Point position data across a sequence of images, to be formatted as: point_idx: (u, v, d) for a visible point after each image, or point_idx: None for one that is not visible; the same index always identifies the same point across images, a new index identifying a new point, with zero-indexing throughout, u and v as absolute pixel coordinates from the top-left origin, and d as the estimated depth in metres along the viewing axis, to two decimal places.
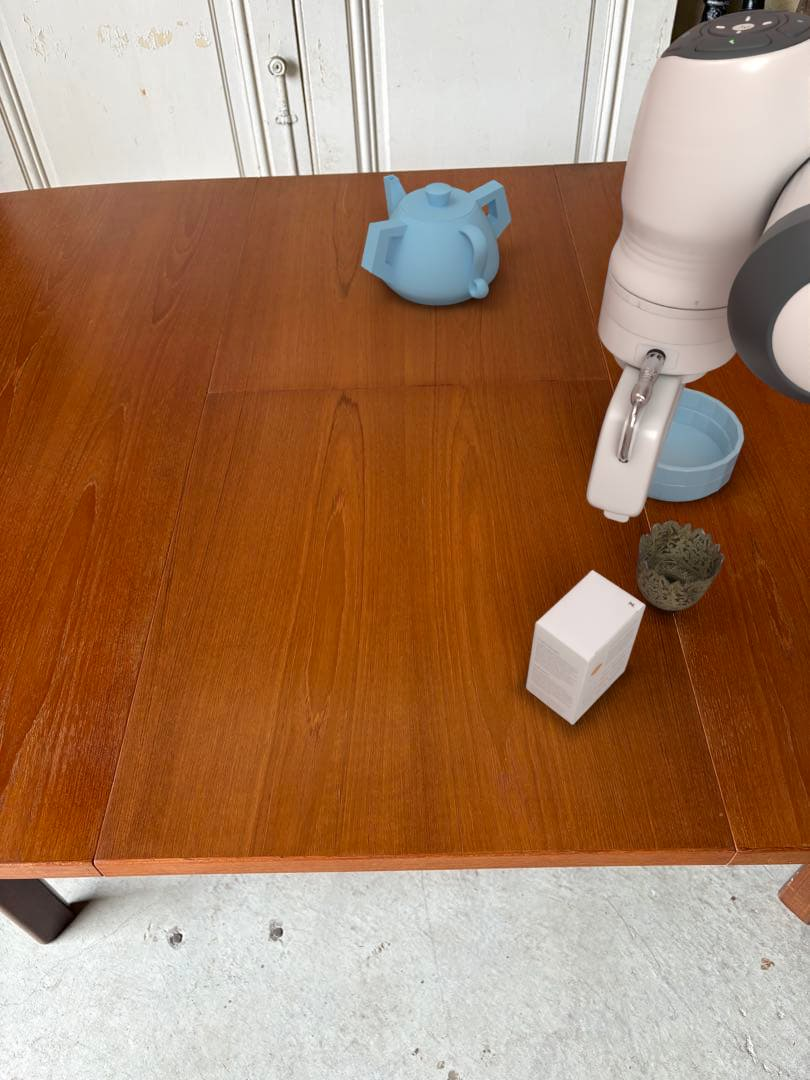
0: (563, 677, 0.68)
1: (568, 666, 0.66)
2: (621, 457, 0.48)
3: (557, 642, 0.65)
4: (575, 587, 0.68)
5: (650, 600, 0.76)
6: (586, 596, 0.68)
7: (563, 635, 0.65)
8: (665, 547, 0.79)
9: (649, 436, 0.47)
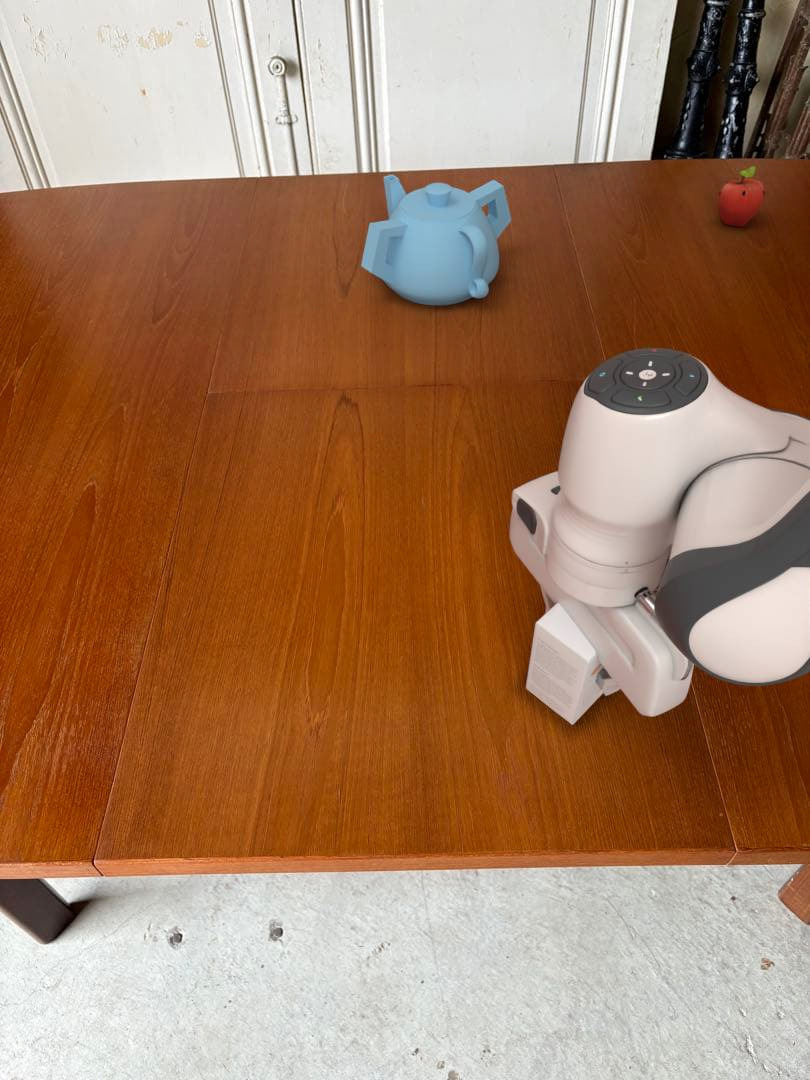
0: (563, 678, 0.68)
1: (568, 666, 0.66)
2: (682, 679, 0.57)
3: (557, 642, 0.65)
4: None
5: None
6: None
7: (563, 635, 0.65)
8: None
9: None
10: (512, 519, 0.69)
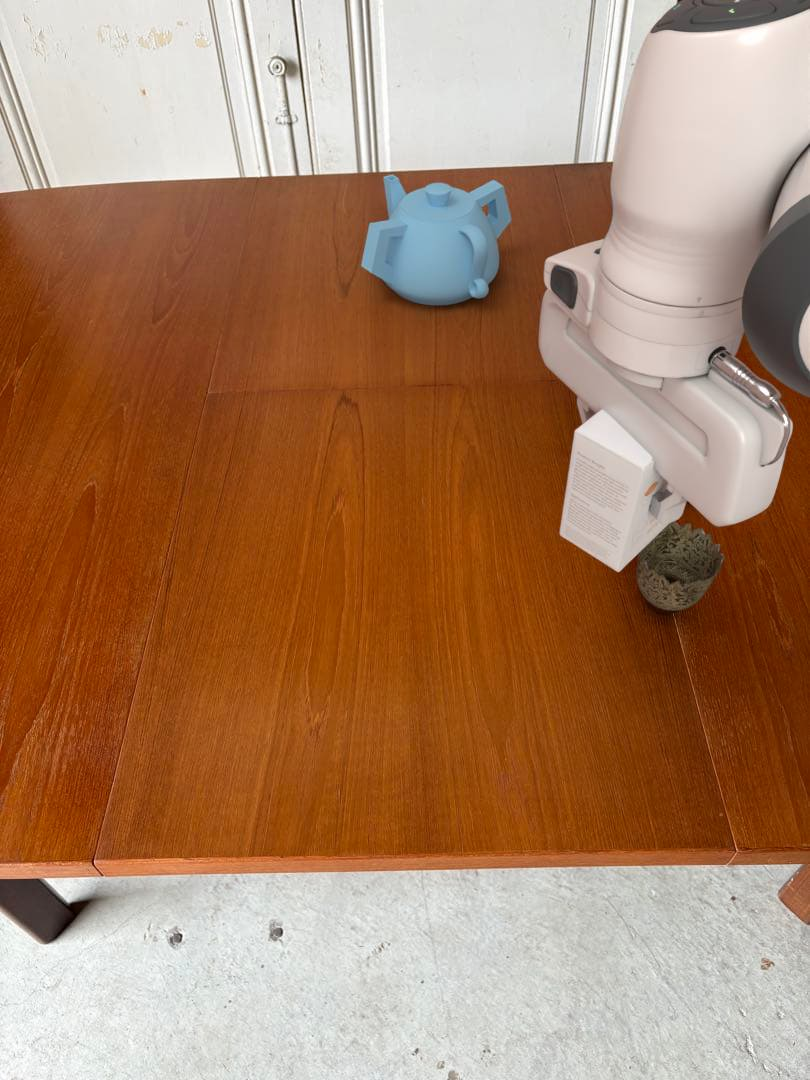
0: (608, 504, 0.55)
1: (616, 484, 0.53)
2: (774, 461, 0.44)
3: (602, 451, 0.52)
4: None
5: (650, 600, 0.76)
6: None
7: (610, 442, 0.52)
8: (665, 547, 0.79)
9: None
10: (543, 312, 0.56)
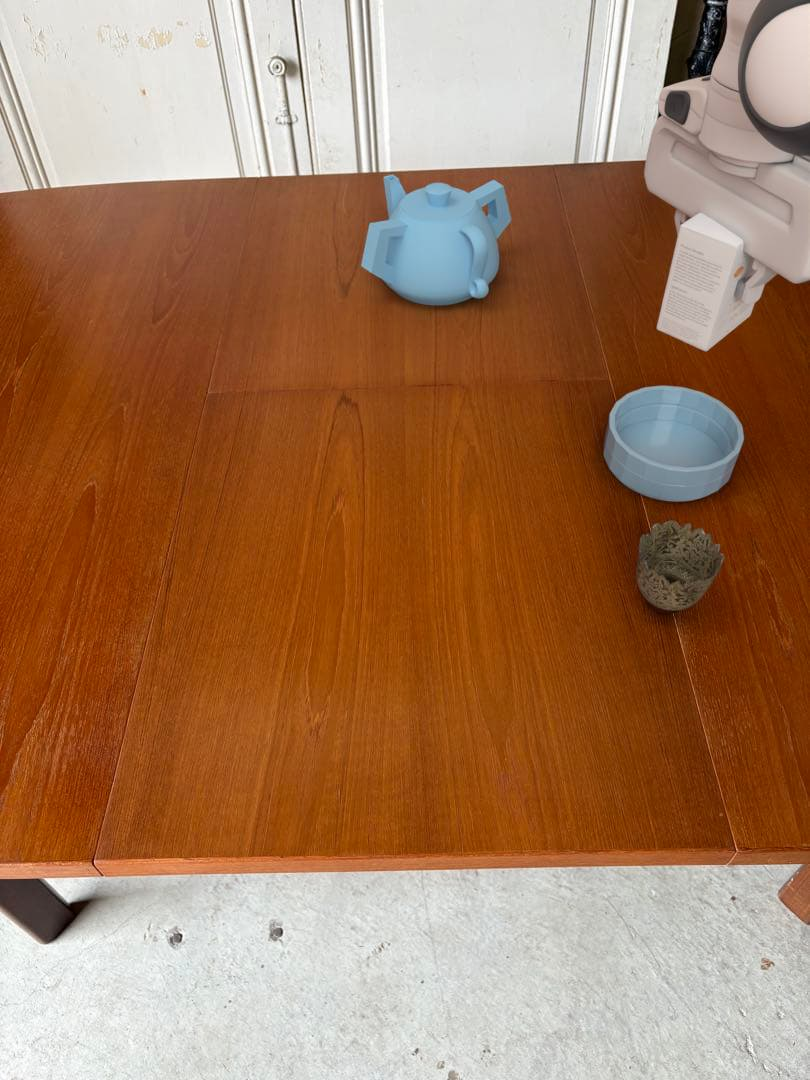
0: (703, 287, 0.70)
1: (712, 266, 0.69)
2: None
3: (703, 239, 0.68)
4: None
5: (650, 600, 0.76)
6: None
7: (709, 231, 0.68)
8: (665, 547, 0.79)
9: None
10: (652, 139, 0.71)
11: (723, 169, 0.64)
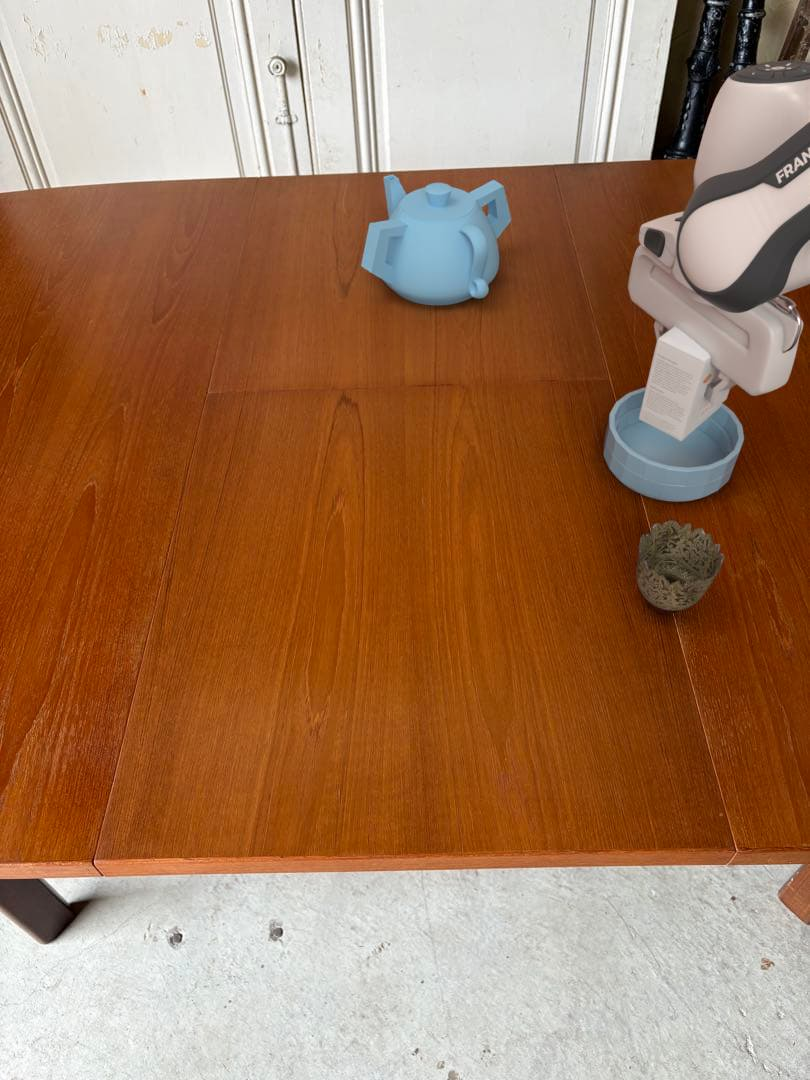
0: (677, 390, 0.82)
1: (684, 374, 0.80)
2: (791, 348, 0.71)
3: (676, 352, 0.79)
4: None
5: (650, 600, 0.76)
6: None
7: (681, 345, 0.79)
8: (665, 547, 0.79)
9: None
10: (634, 262, 0.83)
11: (692, 298, 0.76)
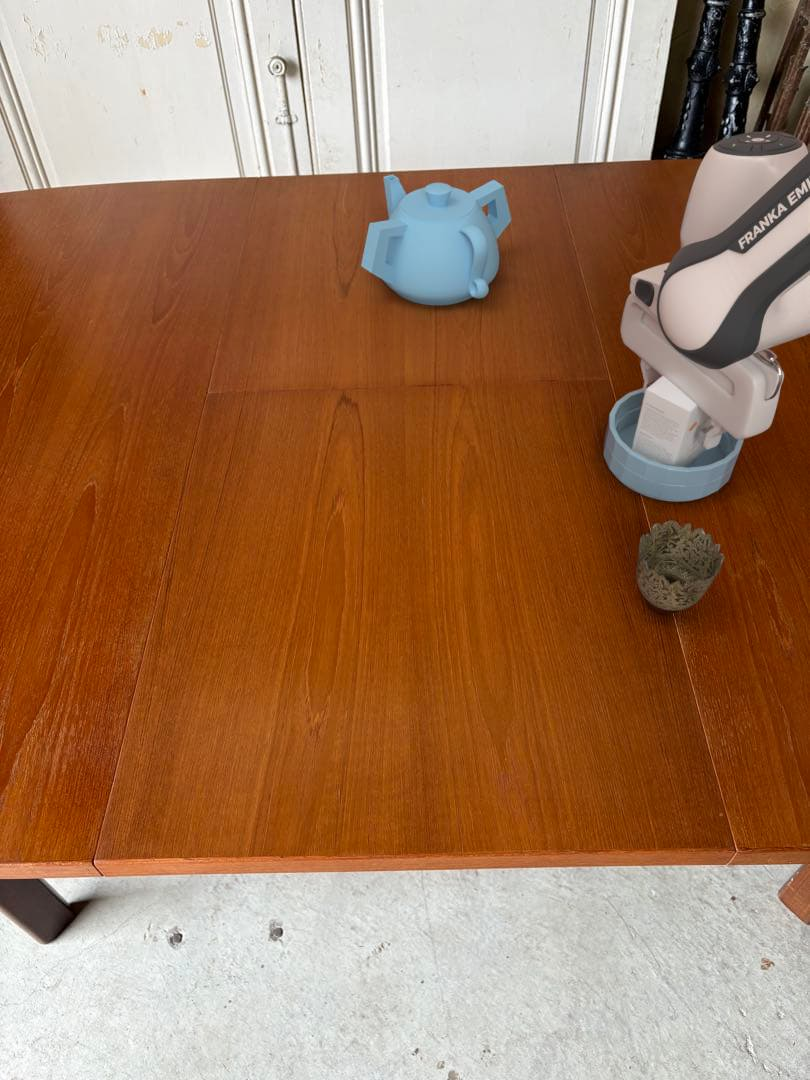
0: (665, 436, 0.86)
1: (671, 422, 0.85)
2: (773, 396, 0.75)
3: (663, 402, 0.84)
4: None
5: (650, 600, 0.76)
6: None
7: (668, 396, 0.84)
8: (665, 547, 0.79)
9: None
10: (626, 308, 0.87)
11: None
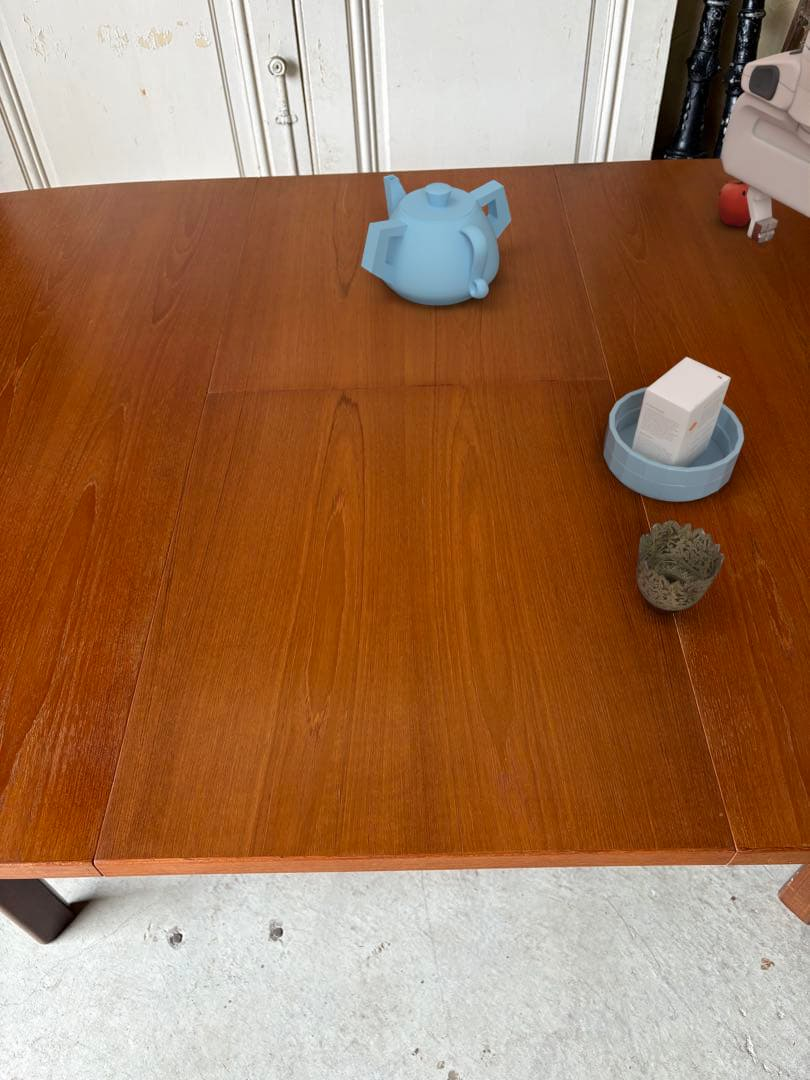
0: (665, 436, 0.86)
1: (671, 422, 0.85)
2: None
3: (663, 402, 0.84)
4: (674, 367, 0.87)
5: (650, 600, 0.76)
6: (684, 372, 0.86)
7: (668, 396, 0.84)
8: (665, 547, 0.79)
9: None
10: (732, 118, 0.69)
11: None
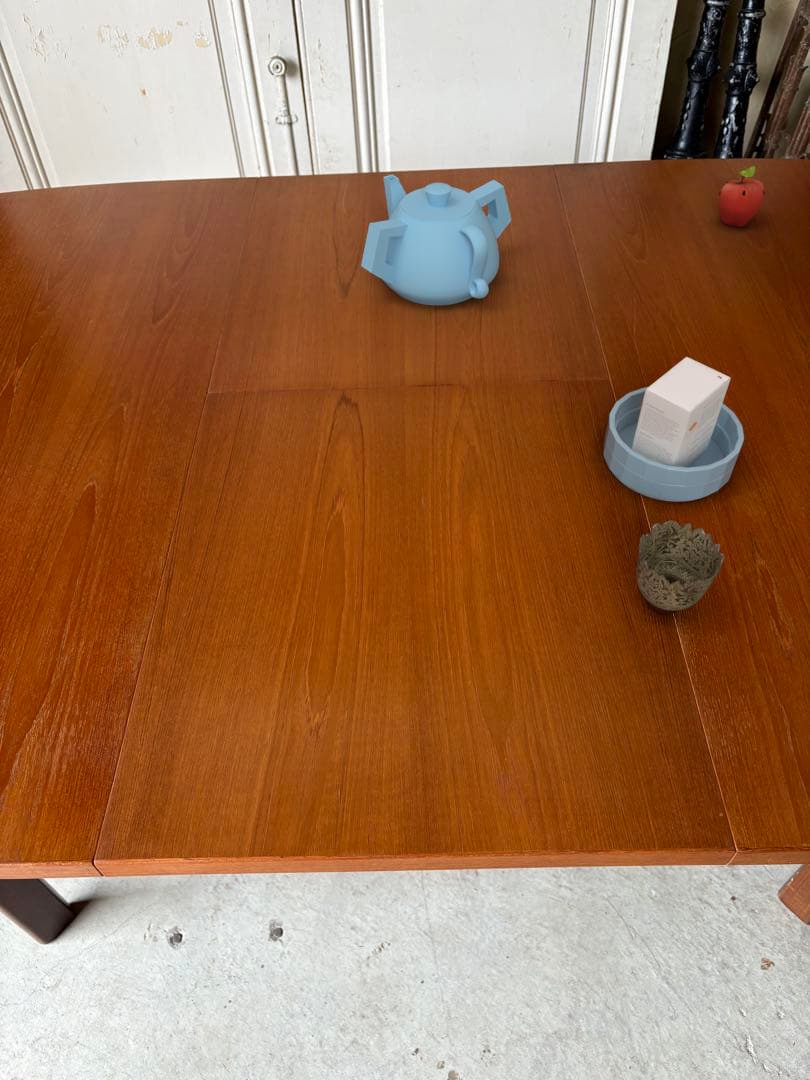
0: (665, 436, 0.86)
1: (671, 422, 0.85)
2: None
3: (663, 402, 0.84)
4: (674, 367, 0.87)
5: (650, 600, 0.76)
6: (684, 372, 0.86)
7: (668, 396, 0.84)
8: (665, 547, 0.79)
9: None
10: None
11: None
